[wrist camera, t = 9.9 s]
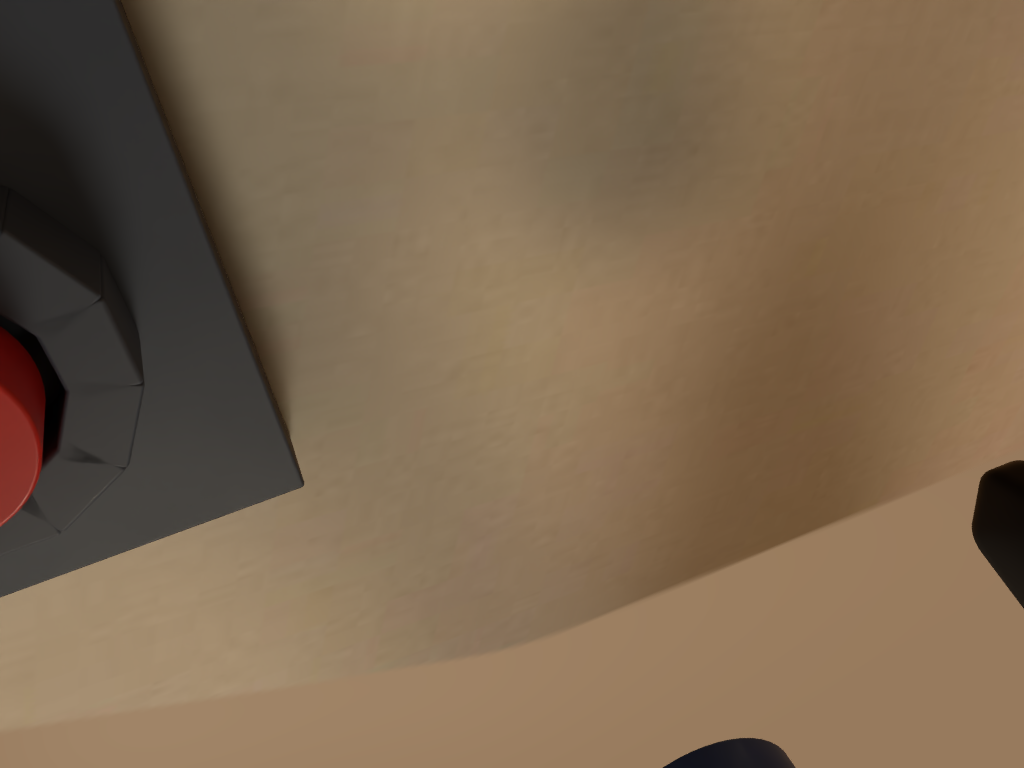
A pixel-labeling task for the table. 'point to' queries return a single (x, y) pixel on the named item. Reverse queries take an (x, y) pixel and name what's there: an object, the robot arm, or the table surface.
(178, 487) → the button block
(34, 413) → the button
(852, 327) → the table surface
